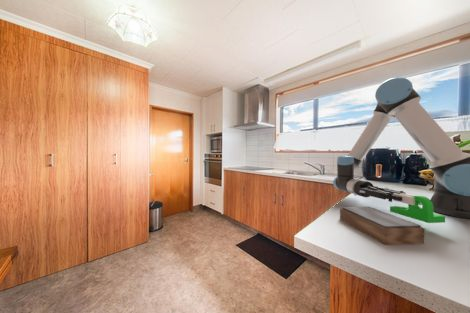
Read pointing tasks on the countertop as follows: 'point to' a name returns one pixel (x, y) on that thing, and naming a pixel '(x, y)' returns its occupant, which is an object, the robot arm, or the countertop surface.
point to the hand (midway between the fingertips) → (417, 201)
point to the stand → (382, 225)
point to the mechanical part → (419, 211)
